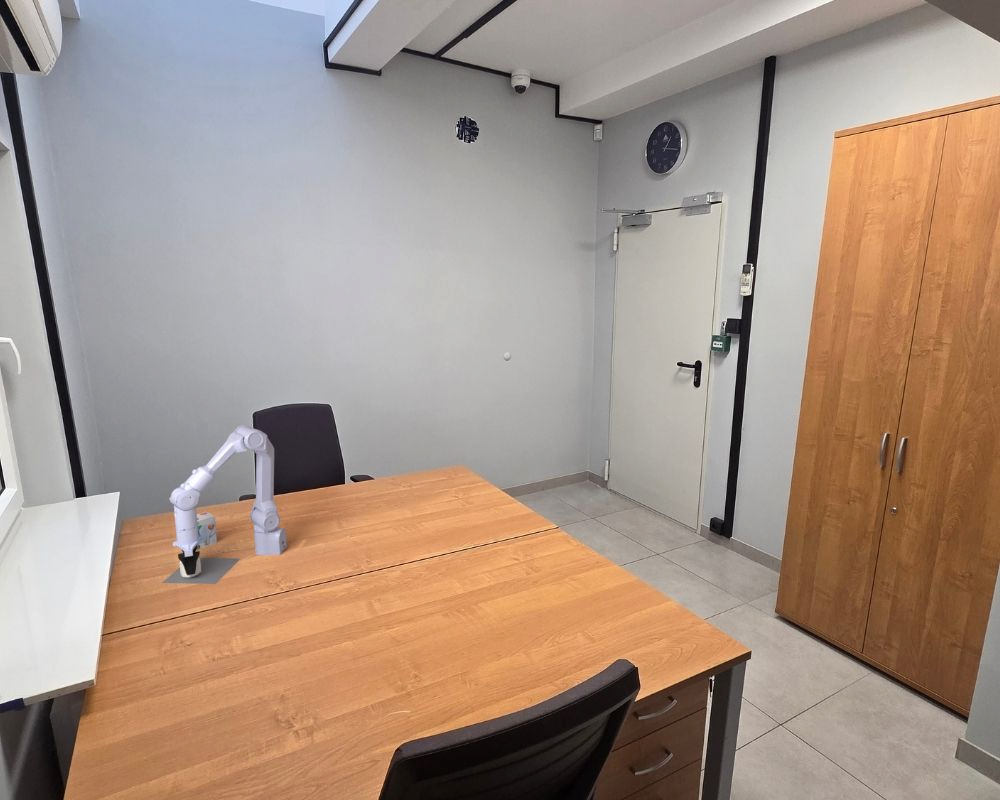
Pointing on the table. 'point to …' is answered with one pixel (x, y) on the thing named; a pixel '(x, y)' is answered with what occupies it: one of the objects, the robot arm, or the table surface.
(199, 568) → the cap
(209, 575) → the base plate
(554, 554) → the table surface
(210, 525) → the light bulb box
